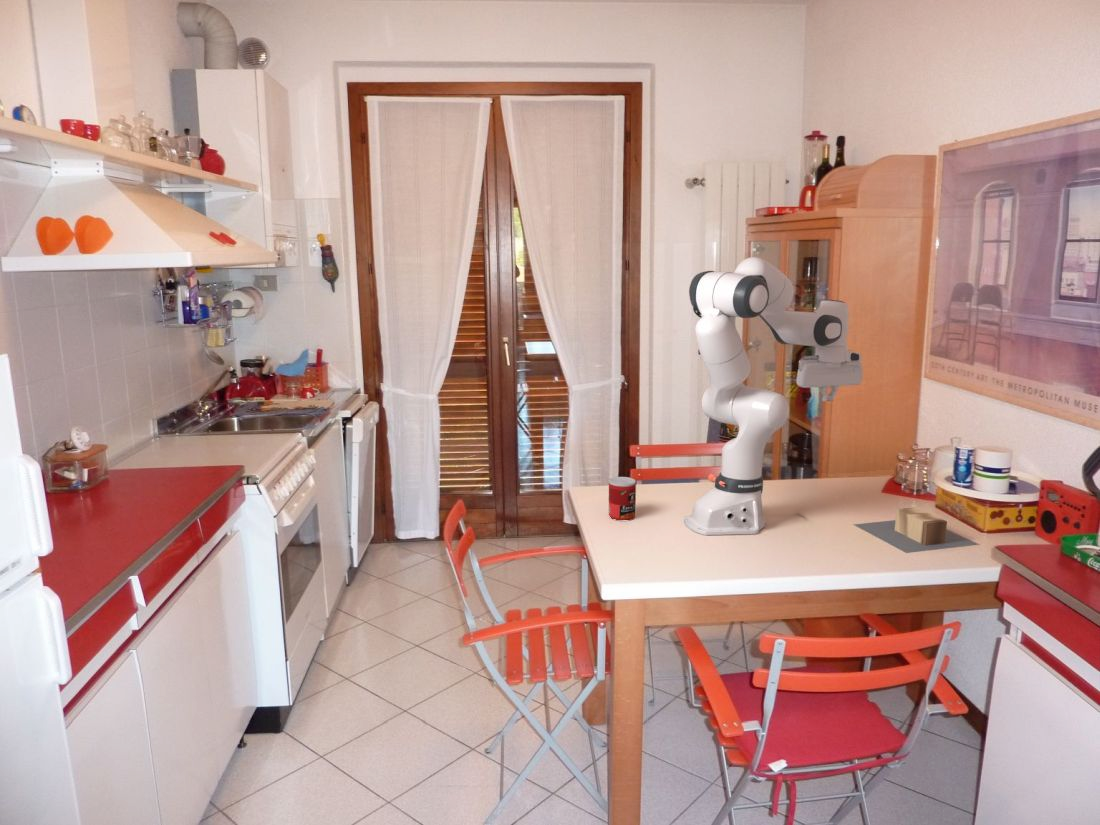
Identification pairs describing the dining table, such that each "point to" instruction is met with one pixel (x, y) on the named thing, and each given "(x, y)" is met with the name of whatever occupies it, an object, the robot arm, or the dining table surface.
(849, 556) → the dining table surface
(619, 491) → the canned food
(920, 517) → the maple block
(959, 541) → the rubber mat
